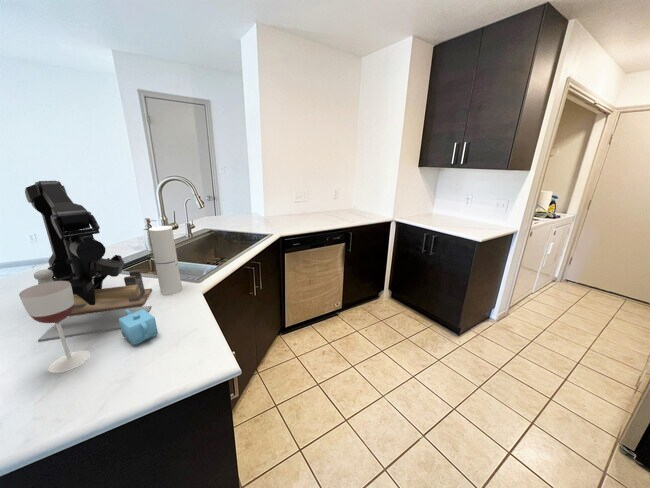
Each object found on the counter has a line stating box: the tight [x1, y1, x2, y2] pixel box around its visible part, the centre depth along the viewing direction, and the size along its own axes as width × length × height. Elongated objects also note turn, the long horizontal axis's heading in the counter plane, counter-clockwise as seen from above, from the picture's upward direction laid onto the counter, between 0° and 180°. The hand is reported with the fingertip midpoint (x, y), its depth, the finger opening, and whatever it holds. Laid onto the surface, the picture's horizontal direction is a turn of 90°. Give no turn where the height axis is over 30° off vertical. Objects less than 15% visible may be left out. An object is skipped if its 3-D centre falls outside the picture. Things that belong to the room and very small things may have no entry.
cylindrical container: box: [148, 225, 183, 296], centre depth 95 cm, size 7×7×25 cm
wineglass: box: [18, 281, 91, 374], centre depth 60 cm, size 8×9×20 cm
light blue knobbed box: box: [119, 308, 159, 346], centre depth 72 cm, size 12×6×8 cm, turn 56°
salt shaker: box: [33, 268, 54, 285], centre depth 85 cm, size 6×6×13 cm
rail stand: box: [67, 269, 153, 317], centre depth 88 cm, size 12×22×10 cm, turn 110°
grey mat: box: [37, 305, 152, 343], centre depth 78 cm, size 11×24×1 cm, turn 110°
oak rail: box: [73, 285, 140, 305], centre depth 76 cm, size 3×22×3 cm, turn 110°
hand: (95, 302), depth 76 cm, fingers closed on oak rail, 3 cm apart
